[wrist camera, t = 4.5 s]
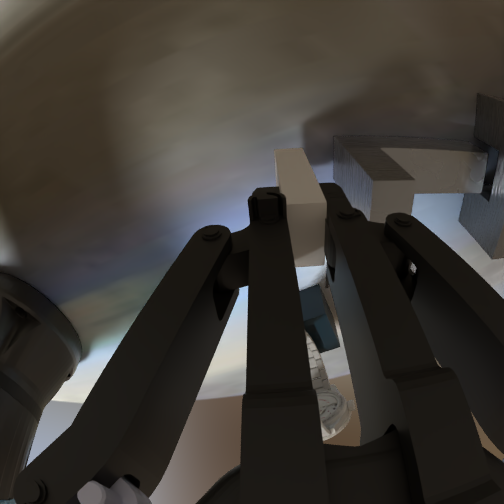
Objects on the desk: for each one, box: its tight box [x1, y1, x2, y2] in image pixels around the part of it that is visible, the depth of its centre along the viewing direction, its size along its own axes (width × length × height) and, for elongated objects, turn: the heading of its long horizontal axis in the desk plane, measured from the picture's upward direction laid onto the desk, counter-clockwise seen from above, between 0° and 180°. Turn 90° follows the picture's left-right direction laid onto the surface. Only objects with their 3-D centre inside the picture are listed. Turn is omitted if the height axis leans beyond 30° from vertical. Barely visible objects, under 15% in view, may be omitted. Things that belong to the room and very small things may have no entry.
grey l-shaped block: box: [333, 136, 489, 223], centre depth 15 cm, size 10×3×7 cm, turn 95°
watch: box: [299, 284, 355, 441], centre depth 21 cm, size 6×8×11 cm
